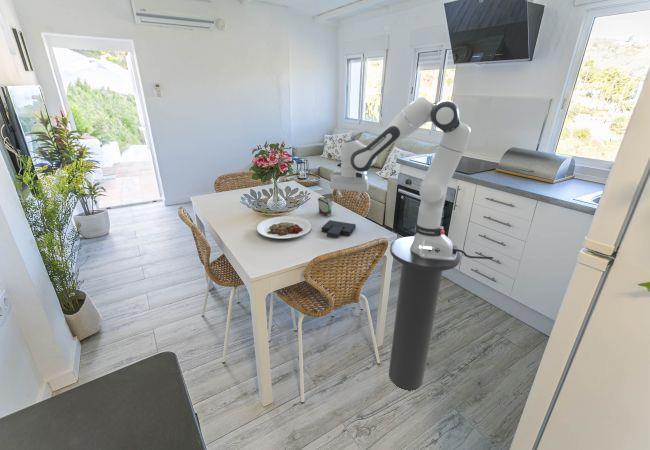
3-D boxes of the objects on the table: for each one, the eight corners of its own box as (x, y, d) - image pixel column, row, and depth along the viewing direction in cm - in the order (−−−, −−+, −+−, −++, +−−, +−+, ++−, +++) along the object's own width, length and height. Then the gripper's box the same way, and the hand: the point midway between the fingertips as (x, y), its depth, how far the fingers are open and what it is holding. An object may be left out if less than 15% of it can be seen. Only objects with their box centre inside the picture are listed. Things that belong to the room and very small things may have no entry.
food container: (336, 216, 196) (337, 201, 192) (328, 218, 193) (328, 202, 189) (325, 210, 206) (325, 195, 202) (317, 212, 203) (317, 197, 199)
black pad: (355, 228, 179) (355, 224, 178) (349, 236, 169) (349, 231, 168) (329, 224, 184) (329, 220, 183) (321, 231, 174) (321, 227, 173)
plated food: (259, 219, 188) (259, 214, 186) (310, 218, 190) (310, 213, 189) (254, 242, 160) (253, 236, 159) (312, 240, 163) (312, 234, 161)
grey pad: (343, 231, 174) (343, 227, 173) (337, 238, 166) (337, 234, 165) (333, 229, 176) (333, 225, 175) (326, 236, 168) (326, 232, 167)
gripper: (328, 172, 161) (328, 198, 166) (367, 174, 154) (366, 201, 159) (332, 169, 167) (332, 195, 172) (370, 172, 160) (368, 198, 165)
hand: (348, 198), depth 165 cm, fingers open, 8 cm apart
